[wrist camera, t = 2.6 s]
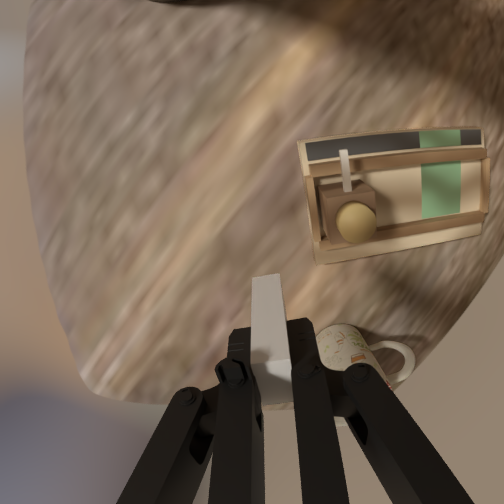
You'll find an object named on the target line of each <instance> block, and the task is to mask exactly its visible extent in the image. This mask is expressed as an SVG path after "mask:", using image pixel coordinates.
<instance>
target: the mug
mask: <svg viewBox="0 0 504 504" xmlns="http://www.w3.org/2000/svg"><path fill="white" fill-rule="evenodd" d="M316 341H317V346H318V350H319V355H320V359H321V362H322V363H323V365H324V366H326V367H327V368H329V369H332V370H339V371H345V370H346V369H347V367H349V366H351V365H352V364H356V363H367V364H370V365H372V366H373V367H374V368H375V369H376V370H377V372H378V373H379V374H380V376H381V377H382V378H383V379H384V381H385V382H386V383H387V385H388V386H389V387H390V389H391V390H392V387H391V384H395V383H397V382H400V381H402V380H405V379H406V378H408V377H409V376H410V374H411V373H412V371H413V369H414V367H415V355H414V353H413V351H412V350H411V348H410V347H408V346H407V345H405V344H403V343H400V342H395V341H381V342H378V343H375V344H372V345H370V346H368V345H367V344H366V342H365V340H364V339H363V337H362V336H361V334H360V332H359V331H358V330H357V329H356V328H355V327H353V326H351V325H348V324H336V325H332V326H330V327H327V328H326V329H324V330H323V331H321V332H320V333H319V334H318V336H317V337H316ZM381 348H393V349H396V350H398V351H399V352H401V353H402V354H403V355H404V357H405V364H404V366H403V368H402V369H401V370H400V371H399V372H397V373H394V374H390V375H387V376H386V375H385V374H384V372H383V370H382V369H381V367H380V365H379V364H378V362H377V360H376V359H375V357H374V355H373V354H372V352H371V351H373V350H377V349H381ZM334 420H335V425H336V426H347V425H348V424H347V423H346V421H345V419H344V417H335V416H334Z"/></svg>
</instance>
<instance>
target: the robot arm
mask: <svg viewBox="0 0 504 504" xmlns="http://www.w3.org/2000/svg"><path fill="white" fill-rule="evenodd" d="M151 1H158V2H177V1H185V0H151ZM215 372H216V375H217V377H218V379H219V382H220V383H219V384H218V385H217V386H215V387H213V388H210V389H207V390H204V391H200V390H199V389H198V388H195V387H185V388H182V389H180V390H179V391H177V392H176V393H175V395H174V396H173V398H172V399H171V401H170V403H169V405H168V407H167V409H166V411H165V413H164V414H163V417H162V418H161V420H160V422H159V424H158V426H157V428H156V430H155V431H154V433H153V435H152V437H151V439H150V441H149V443H148V445H147V447H146V448H145V450H144V452H143V454H142V456H141V458H140V460H139V461H138V463H137V465H136V467H135V469H134V471H133V473H132V475H131V477H130V478H129V480H128V482H127V484H126V486H125V488H124V490H123V492H122V494H121V495H120V497H119V499H118V501H117V503H116V504H192V503H193V500H194V498H195V496H196V493H197V490H198V488H199V486H200V483H201V481H202V478H203V476H204V473H205V471H206V468H207V465H208V463H209V461H210V458H211V455H212V453H213V457H212V467H211V478H210V488H209V499H208V504H265V481H264V480H265V475H264V474H265V473H264V427H263V426H264V424H263V423H264V421H263V413H262V409H261V402H262V405H263V406H264V405H272V404H280V403H287V402H294V411H295V421H296V432H297V443H298V454H299V465H300V477H301V489H302V501H303V504H349V497H348V492H347V485H346V480H345V474H344V468H343V462H342V457H341V451H340V446H339V441H338V436H337V430H336V425H335V420H334V416H335V417H344V419H345V421H346V423H347V424H348V426H349V428H350V429H351V431H352V433H353V435H354V437H355V438H356V440H357V442H358V444H359V445H360V447H361V449H362V451H363V452H364V454H365V456H366V458H367V459H368V461H369V463H370V465H371V466H372V468H373V470H374V471H375V473H376V475H377V477H378V479H379V480H380V482H381V484H382V485H383V487H384V489H385V491H386V493H387V494H388V496H389V498H390V499H391V501H392V503H393V504H474V503H473V501H472V500H471V498H470V497H469V495H468V494H467V493H466V491H465V490H464V488H463V487H462V485H461V484H460V483H459V481H458V480H457V478H456V477H455V476H454V474H453V473H452V472H451V470H450V469H449V467H448V466H447V464H446V463H445V462H444V460H443V459H442V457H441V456H440V455H439V453H438V452H437V451H436V449H435V448H434V446H433V445H432V444H431V442H430V441H429V440H428V438H427V437H426V436H425V434H424V433H423V432H422V430H421V429H420V427H419V426H418V425H417V423H416V422H415V421H414V419H413V418H412V417H411V415H410V414H409V413H408V411H407V410H406V409H405V407H404V406H403V405H402V403H401V402H400V401H399V399H398V398H397V397H396V395H395V394H394V393H393V391H392V390H391V389H390V387H389V386H388V385H387V383H386V382H385V381H384V379H383V378H382V377H381V376H380V374H379V373H378V372H377V370H376V369H375V368H374V367H373V366H372V365H370V364H367V363H356V364H352V365H351V366H349V367H347V369H346V370H345V371H339V370H332V369H329V368H327V367H326V366H324V365H323V363H322V362H321V359H320V355H319V350H318V346H317V341H316V337H315V333H314V328H313V324H312V322H311V321H310V320H309V319H308V318H307V317H306V318H300V319H294V320H288V321H287V316H286V309H285V303H284V298H283V292H282V286H281V280H280V275H279V273H278V274H272V275H266V276H260V277H254V278H252V309H251V327H247V328H240V329H234V330H233V331H232V333H231V335H230V336H229V342H228V352H227V358H225V359H223V360H221V361H220V362H219V363H218V364H217V365H216V367H215Z"/></svg>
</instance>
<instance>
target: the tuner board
mask: <svg viewBox="0 0 504 504" xmlns="http://www.w3.org/2000/svg"><path fill="white" fill-rule="evenodd" d="M297 145H298V151H299V157H300V163H301V169H302V176H303V182H304V189H305V196H306V202H307V210H308V217H309V224H310V232H311V240H312V248H313V256H314V261H315V264H316V266H317V265H322V264H328V263H334V262H339V261H345V260H351V259H356V258H362V257H367V256H372V255H378V254H383V253H389V252H394V251H399V250H404V249H410V248H415V247H420V246H425V245H430V244H435V243H440V242H445V241H450V240H455V239H460V238H465V237H470V236H475V235H479V234H481V226H482V222H484V216H485V213H488V205H489V187H490V158H488V157H487V149H485V148H484V128H480V127H432V128H413V129H397V130H385V131H373V132H363V133H353V134H345V135H336V136H328V137H321V138H313V139H306V140H300V141H297ZM342 149H347V151H348V159H349V168H350V177H351V180H358V179H360V180H362V181H363V182H364V183H365V184H367V185H368V186H369V187H370V188H372V189H373V190H374V191H375V202H376V220H377V237H375V238H369V239H368V240H367V241H365V242H362V243H351V242H346V243H340V244H334V245H331V243H330V241H329V239H328V237H327V235H326V233H325V231H324V229H323V227H322V219H321V211H320V203H319V195H318V188H317V185H323V184H330V183H337V182H343V181H342V172H341V164H340V156H339V150H342Z"/></svg>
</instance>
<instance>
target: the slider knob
mask: <svg viewBox="0 0 504 504" xmlns="http://www.w3.org/2000/svg"><path fill="white" fill-rule="evenodd" d="M339 156H340V164H341V172H342V181H343V182H337V183H330V184H323V185H317V188H318V195H319V203H320V211H321V219H322V227H323V229H324V231H325V233H326V235H327V237H328V239H329V241H330V243H331V245H334V244H340V243H346V242H351V243H362V242H365V241H367V240H368V239H369V238H375V237H377V220H376V202H375V191H374V190H373V189H372V188H370V187H369V186H368V185H367V184H365V183H364V182H363V181H362V180H360V179H358V180H351V177H350V168H349V159H348V151H347V149H342V150H339Z"/></svg>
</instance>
